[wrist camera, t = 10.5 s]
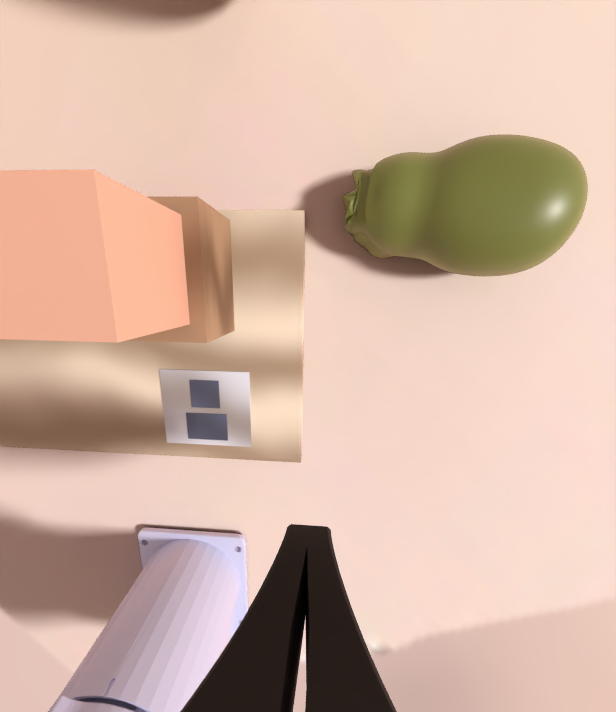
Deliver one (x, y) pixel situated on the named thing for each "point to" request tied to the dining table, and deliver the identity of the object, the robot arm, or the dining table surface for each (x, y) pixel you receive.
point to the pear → (470, 205)
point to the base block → (202, 273)
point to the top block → (87, 259)
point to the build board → (179, 370)
